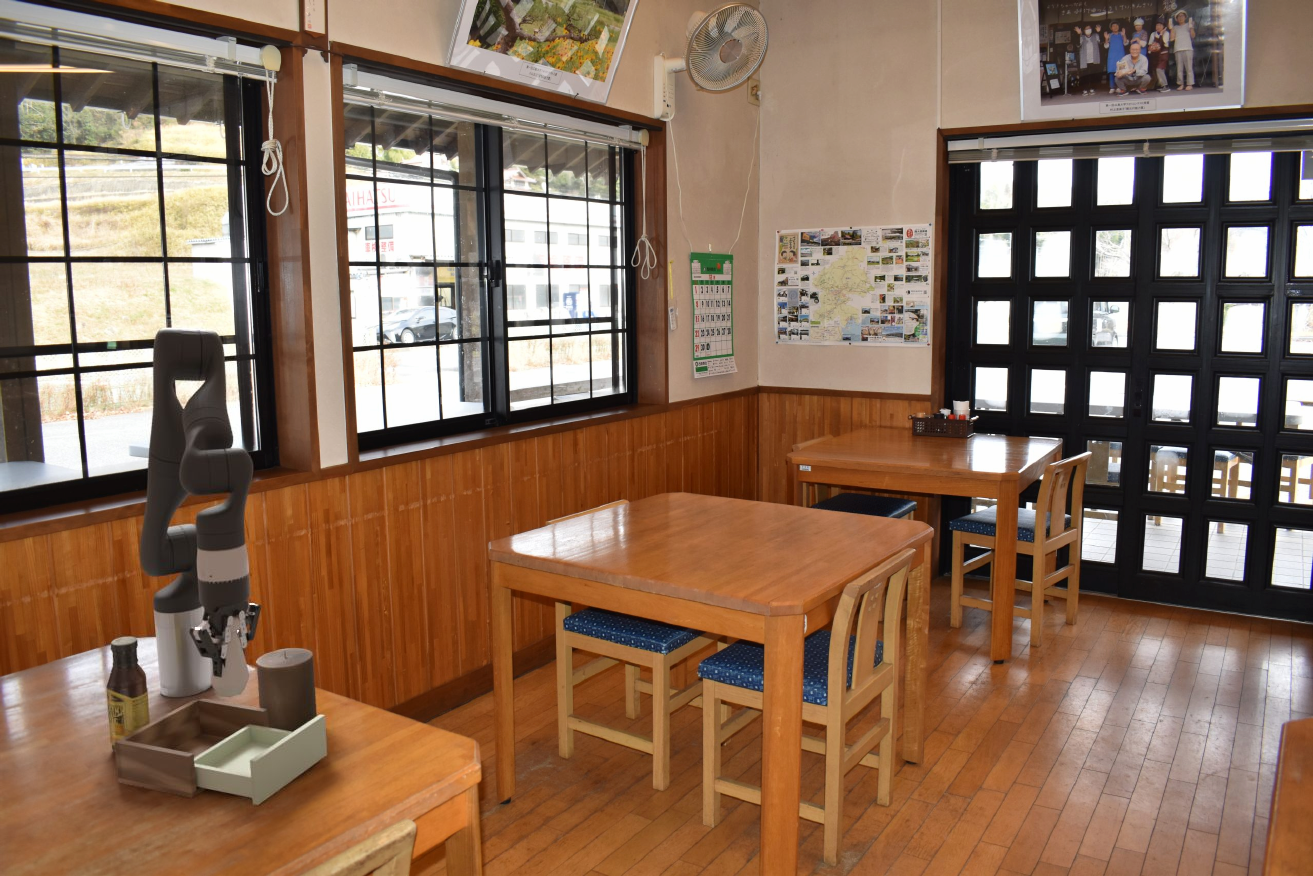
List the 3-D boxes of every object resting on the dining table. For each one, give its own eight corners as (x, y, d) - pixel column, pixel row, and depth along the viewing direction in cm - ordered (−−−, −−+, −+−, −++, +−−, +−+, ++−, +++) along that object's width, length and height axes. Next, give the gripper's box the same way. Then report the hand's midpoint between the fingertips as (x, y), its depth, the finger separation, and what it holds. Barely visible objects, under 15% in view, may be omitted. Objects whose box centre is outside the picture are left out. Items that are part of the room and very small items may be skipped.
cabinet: (200, 734, 176) (198, 697, 175) (269, 746, 172) (267, 709, 171) (118, 782, 160) (114, 742, 158) (192, 798, 155) (188, 756, 154)
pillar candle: (322, 732, 177) (318, 653, 175) (265, 745, 172) (260, 664, 170) (310, 713, 185) (306, 637, 183) (255, 725, 180) (250, 647, 178)
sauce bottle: (105, 748, 171) (95, 639, 168) (143, 736, 176) (134, 630, 172) (119, 760, 167) (109, 649, 163) (158, 747, 171) (148, 639, 168)
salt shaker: (255, 692, 160) (251, 617, 158) (219, 703, 156) (214, 625, 154) (241, 681, 164) (237, 607, 162) (206, 691, 160) (200, 615, 158)
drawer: (254, 741, 172) (252, 702, 171) (327, 754, 167) (324, 715, 166) (180, 789, 156) (177, 746, 155) (258, 805, 151) (255, 761, 150)
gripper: (209, 588, 149) (216, 695, 152) (272, 562, 162) (278, 661, 165) (170, 582, 151) (178, 688, 154) (236, 557, 164) (242, 655, 167)
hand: (230, 673), depth 159 cm, fingers closed on salt shaker, 3 cm apart
